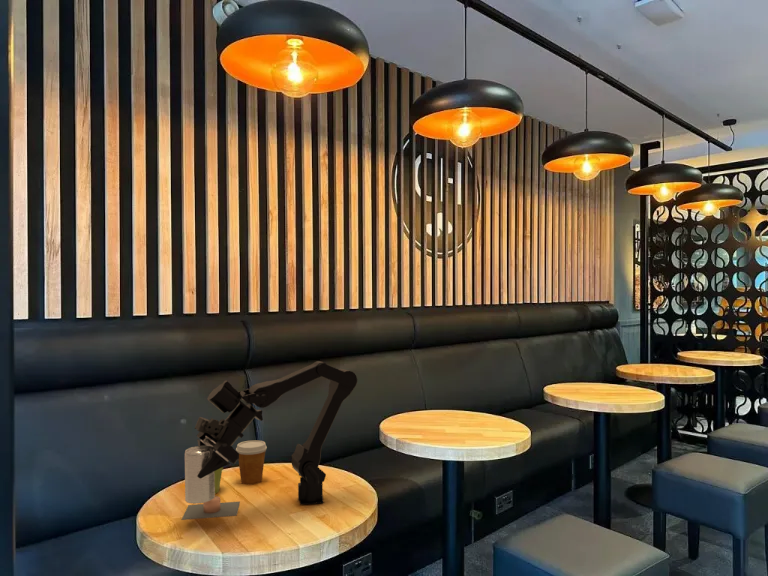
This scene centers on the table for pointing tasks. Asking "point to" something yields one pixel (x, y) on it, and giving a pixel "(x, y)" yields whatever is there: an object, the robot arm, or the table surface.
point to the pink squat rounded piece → (212, 505)
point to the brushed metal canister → (195, 486)
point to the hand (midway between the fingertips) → (194, 473)
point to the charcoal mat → (198, 513)
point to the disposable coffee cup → (251, 461)
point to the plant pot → (217, 479)
